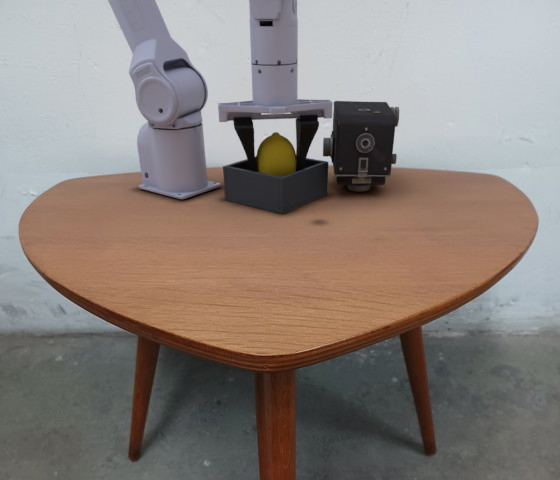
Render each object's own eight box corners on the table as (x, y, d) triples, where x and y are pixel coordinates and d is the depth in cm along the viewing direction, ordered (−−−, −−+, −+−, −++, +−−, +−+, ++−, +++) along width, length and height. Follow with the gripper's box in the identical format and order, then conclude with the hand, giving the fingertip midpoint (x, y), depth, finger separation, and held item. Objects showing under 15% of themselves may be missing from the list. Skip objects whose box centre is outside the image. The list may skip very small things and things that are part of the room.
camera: (400, 205, 77) (386, 166, 88) (411, 119, 69) (395, 88, 81) (323, 205, 77) (319, 166, 88) (327, 119, 70) (322, 88, 81)
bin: (224, 199, 77) (222, 166, 74) (271, 183, 83) (270, 151, 81) (282, 214, 71) (282, 178, 69) (327, 194, 78) (328, 161, 75)
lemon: (256, 188, 79) (253, 128, 74) (294, 187, 79) (294, 127, 75) (258, 200, 74) (255, 137, 70) (298, 199, 75) (299, 136, 70)
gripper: (215, 68, 64) (223, 187, 72) (338, 64, 65) (333, 182, 73) (215, 62, 70) (223, 172, 78) (328, 59, 71) (325, 168, 79)
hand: (276, 176), depth 76 cm, fingers closed on lemon, 6 cm apart
